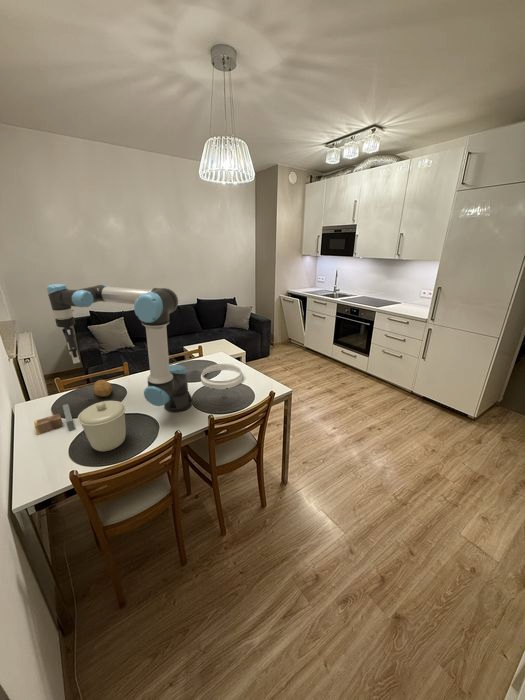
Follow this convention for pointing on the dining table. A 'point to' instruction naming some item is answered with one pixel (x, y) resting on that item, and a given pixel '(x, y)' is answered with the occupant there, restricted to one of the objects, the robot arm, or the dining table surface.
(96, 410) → the canister
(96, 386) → the potato
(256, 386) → the dining table surface
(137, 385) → the dining table surface
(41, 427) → the block
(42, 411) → the dining table surface
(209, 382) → the white flat ring
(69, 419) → the grey bar
